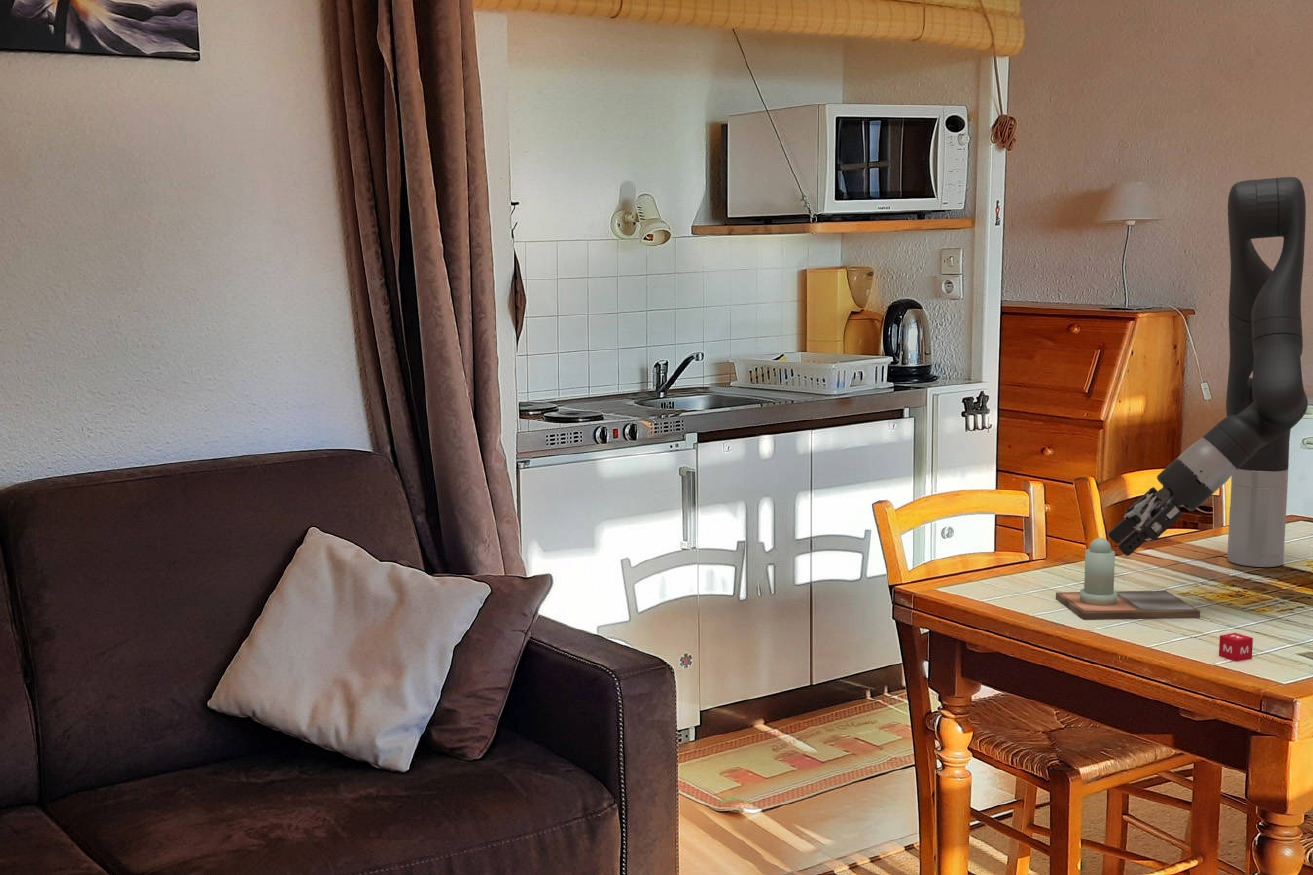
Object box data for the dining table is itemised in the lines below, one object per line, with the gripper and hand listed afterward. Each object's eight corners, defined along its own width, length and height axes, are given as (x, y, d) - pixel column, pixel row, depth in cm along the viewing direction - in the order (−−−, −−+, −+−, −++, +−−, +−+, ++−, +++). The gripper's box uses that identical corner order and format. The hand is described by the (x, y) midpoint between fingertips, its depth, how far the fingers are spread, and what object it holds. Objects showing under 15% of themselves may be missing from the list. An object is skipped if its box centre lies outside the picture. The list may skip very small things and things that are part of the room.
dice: (1218, 656, 188) (1219, 635, 187) (1234, 653, 189) (1235, 632, 188) (1236, 662, 185) (1237, 640, 184) (1252, 659, 186) (1253, 637, 186)
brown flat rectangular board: (1055, 598, 220) (1056, 591, 219) (1165, 596, 220) (1165, 590, 220) (1083, 619, 207) (1083, 612, 207) (1200, 617, 207) (1200, 610, 207)
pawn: (1074, 597, 216) (1076, 534, 215) (1109, 596, 216) (1111, 534, 215) (1087, 605, 210) (1089, 542, 209) (1122, 605, 211) (1125, 541, 209)
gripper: (1169, 449, 216) (1092, 519, 219) (1190, 464, 202) (1107, 538, 205) (1202, 483, 216) (1125, 552, 219) (1226, 499, 202) (1143, 573, 205)
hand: (1116, 545), depth 212 cm, fingers open, 8 cm apart
